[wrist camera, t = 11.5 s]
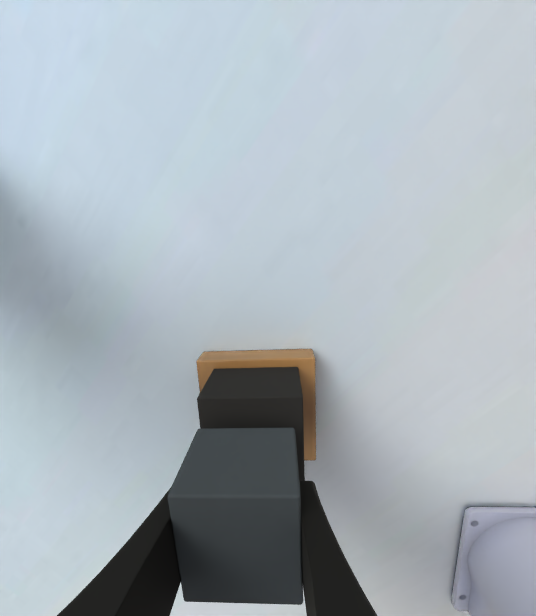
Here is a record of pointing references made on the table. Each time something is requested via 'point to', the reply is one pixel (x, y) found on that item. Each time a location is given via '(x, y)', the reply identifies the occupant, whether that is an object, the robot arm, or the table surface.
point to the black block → (254, 401)
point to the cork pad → (272, 359)
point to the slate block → (239, 517)
